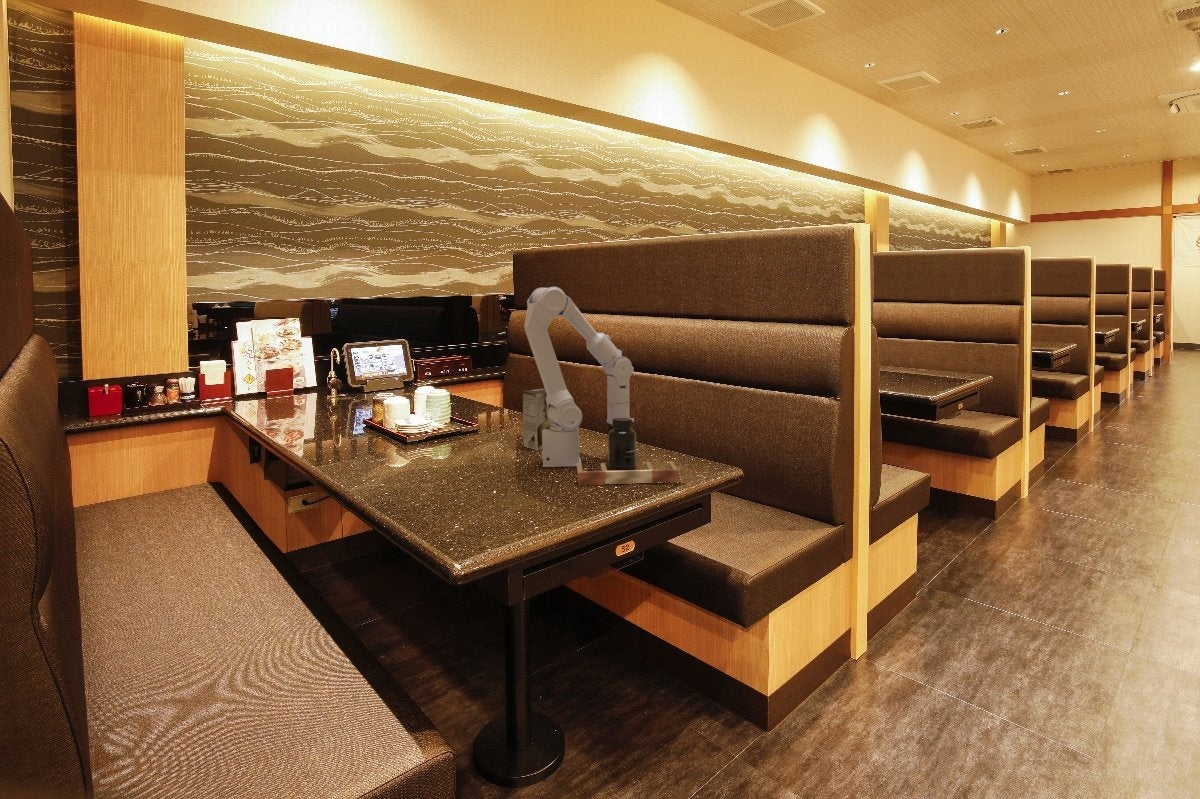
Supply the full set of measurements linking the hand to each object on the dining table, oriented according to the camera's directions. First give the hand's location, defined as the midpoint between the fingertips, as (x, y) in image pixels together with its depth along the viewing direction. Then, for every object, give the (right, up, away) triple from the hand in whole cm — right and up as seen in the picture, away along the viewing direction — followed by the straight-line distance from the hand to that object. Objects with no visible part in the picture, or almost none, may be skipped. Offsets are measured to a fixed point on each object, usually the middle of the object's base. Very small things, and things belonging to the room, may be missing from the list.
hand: (618, 453), depth 180 cm
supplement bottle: (+1, -3, -10) cm, 10 cm away
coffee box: (-21, +1, +14) cm, 25 cm away
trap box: (+1, -4, -21) cm, 22 cm away
